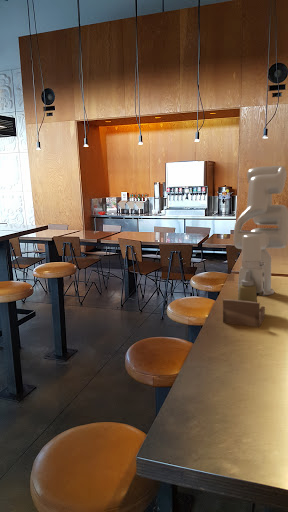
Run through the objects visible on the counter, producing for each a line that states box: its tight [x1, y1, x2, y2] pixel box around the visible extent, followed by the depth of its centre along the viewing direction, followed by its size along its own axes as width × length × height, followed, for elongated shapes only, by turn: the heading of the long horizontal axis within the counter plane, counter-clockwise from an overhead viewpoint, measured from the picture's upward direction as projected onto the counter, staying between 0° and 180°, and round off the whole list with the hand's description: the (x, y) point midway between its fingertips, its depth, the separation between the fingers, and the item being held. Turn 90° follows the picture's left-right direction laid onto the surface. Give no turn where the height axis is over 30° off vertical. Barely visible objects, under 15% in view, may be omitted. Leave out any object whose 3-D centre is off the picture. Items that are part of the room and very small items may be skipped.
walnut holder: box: [222, 298, 266, 328], centre depth 141 cm, size 11×13×9 cm
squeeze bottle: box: [237, 271, 258, 303], centre depth 146 cm, size 8×8×18 cm
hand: (250, 307), depth 152 cm, fingers closed
